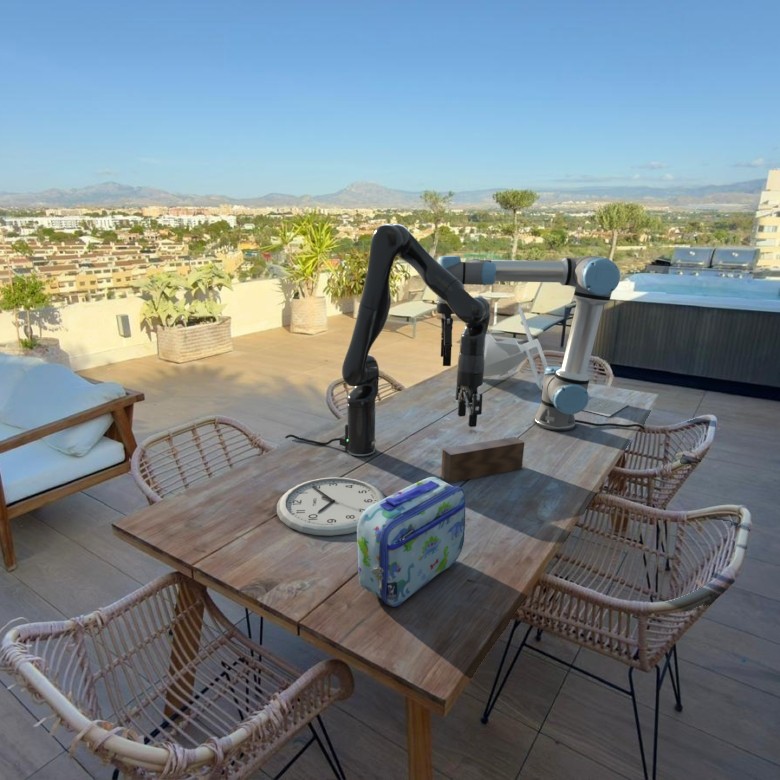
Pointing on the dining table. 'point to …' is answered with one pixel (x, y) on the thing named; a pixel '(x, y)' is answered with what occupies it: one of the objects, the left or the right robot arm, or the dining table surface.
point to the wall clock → (327, 505)
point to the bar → (482, 459)
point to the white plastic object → (511, 354)
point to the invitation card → (603, 406)
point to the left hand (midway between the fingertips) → (466, 421)
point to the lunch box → (410, 539)
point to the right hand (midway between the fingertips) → (445, 361)
